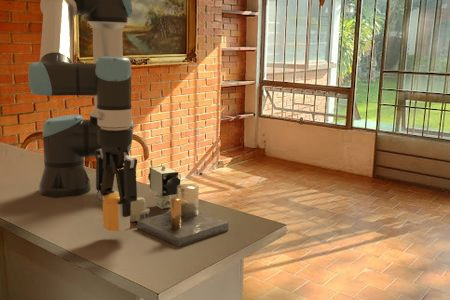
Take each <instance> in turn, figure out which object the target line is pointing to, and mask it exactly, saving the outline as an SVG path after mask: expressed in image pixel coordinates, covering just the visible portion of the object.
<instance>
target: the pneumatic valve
mask: <svg viewBox="0 0 450 300" xmlns="http://www.w3.org/2000/svg"><path fill="white" fill-rule="evenodd" d="M147 178H148V181H149V189H150V190H152V191H154V192H156V193H157V194H156V195H155V198H156V199H155V200H156V201H155V202H156V203H155V206H156V207H158V209H161V210H163V209H167V208H169V209H171V199H172V198H173V197H172V196H173V195H177V186H178V185H181V179H180V178H179V172H178V171H177V170H176V169H174V168H170V167H167V166H166V165H159V166H152V167H149V172H148V176H147Z"/></svg>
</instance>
